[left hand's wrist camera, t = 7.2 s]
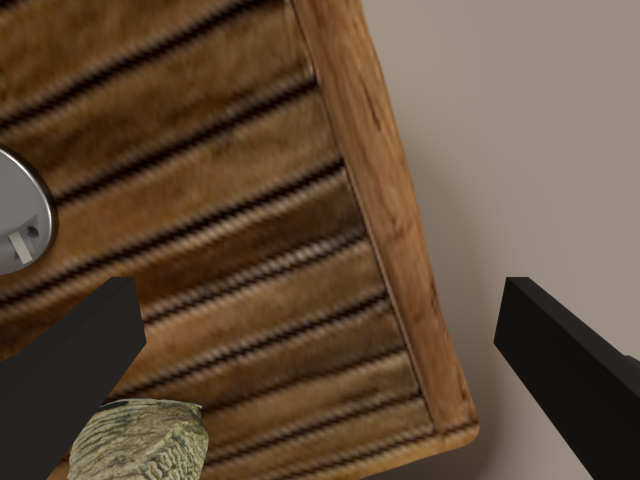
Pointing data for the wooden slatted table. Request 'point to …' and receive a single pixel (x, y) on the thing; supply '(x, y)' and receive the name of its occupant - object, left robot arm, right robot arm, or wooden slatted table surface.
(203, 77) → the wooden slatted table surface
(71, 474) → the fossil
